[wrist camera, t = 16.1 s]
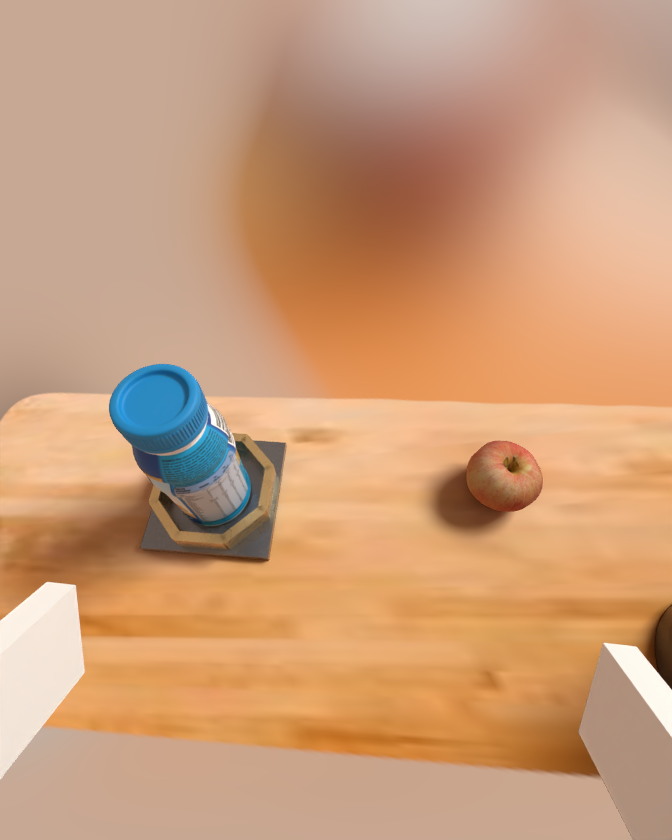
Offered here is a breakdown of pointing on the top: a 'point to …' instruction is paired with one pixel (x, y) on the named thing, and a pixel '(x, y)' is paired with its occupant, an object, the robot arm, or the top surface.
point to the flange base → (238, 535)
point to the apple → (504, 476)
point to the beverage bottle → (181, 443)
